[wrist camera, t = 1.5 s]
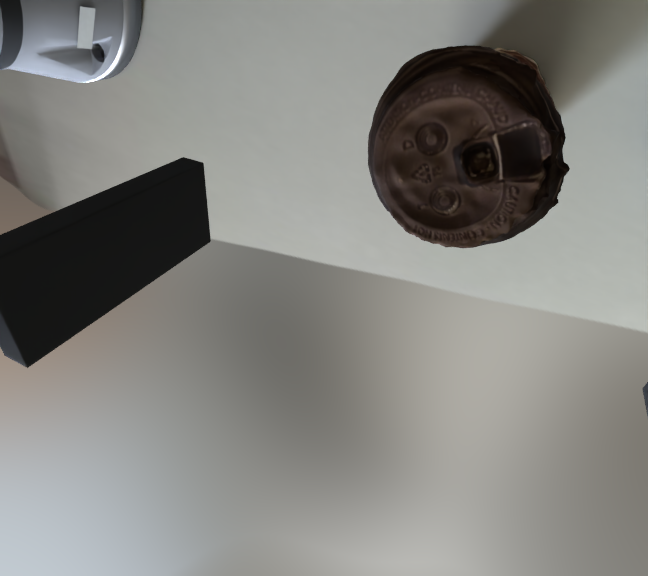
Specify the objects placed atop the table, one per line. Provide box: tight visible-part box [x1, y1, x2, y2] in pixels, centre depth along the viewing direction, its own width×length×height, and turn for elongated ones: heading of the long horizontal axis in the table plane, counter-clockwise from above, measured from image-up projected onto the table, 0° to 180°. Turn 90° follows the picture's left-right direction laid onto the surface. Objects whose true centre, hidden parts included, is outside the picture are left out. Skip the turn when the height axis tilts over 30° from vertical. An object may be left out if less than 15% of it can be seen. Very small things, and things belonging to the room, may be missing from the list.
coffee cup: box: [368, 45, 570, 248], centre depth 22 cm, size 9×8×13 cm
